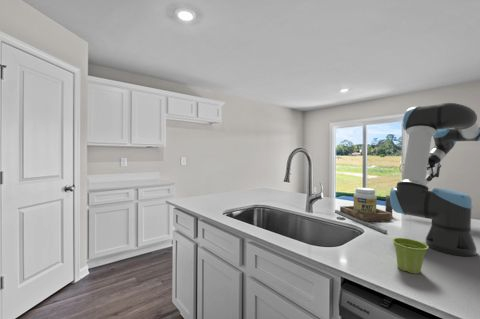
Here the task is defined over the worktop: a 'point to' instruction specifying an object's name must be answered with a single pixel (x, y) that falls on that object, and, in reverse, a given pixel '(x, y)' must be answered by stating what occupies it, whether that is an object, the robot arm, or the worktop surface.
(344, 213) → the rail
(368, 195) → the supplement tub
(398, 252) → the plant pot
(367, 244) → the worktop surface
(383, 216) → the wooden tray
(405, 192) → the robot arm
